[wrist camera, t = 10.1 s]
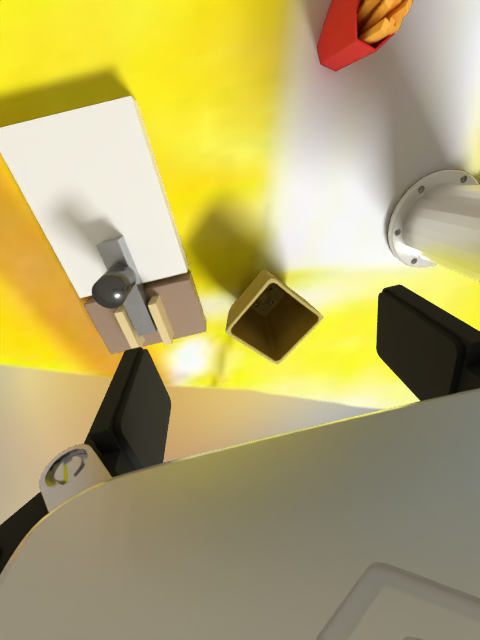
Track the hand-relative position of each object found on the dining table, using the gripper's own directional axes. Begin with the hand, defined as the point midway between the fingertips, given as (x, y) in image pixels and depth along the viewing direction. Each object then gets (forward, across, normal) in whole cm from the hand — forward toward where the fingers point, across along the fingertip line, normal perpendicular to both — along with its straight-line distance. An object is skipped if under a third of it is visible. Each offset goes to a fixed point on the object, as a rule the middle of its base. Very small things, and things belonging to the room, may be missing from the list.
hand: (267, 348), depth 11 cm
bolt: (+25, +13, +4) cm, 29 cm away
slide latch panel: (+28, +13, -1) cm, 31 cm away
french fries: (+28, -16, -16) cm, 36 cm away
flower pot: (+28, -3, +11) cm, 31 cm away
